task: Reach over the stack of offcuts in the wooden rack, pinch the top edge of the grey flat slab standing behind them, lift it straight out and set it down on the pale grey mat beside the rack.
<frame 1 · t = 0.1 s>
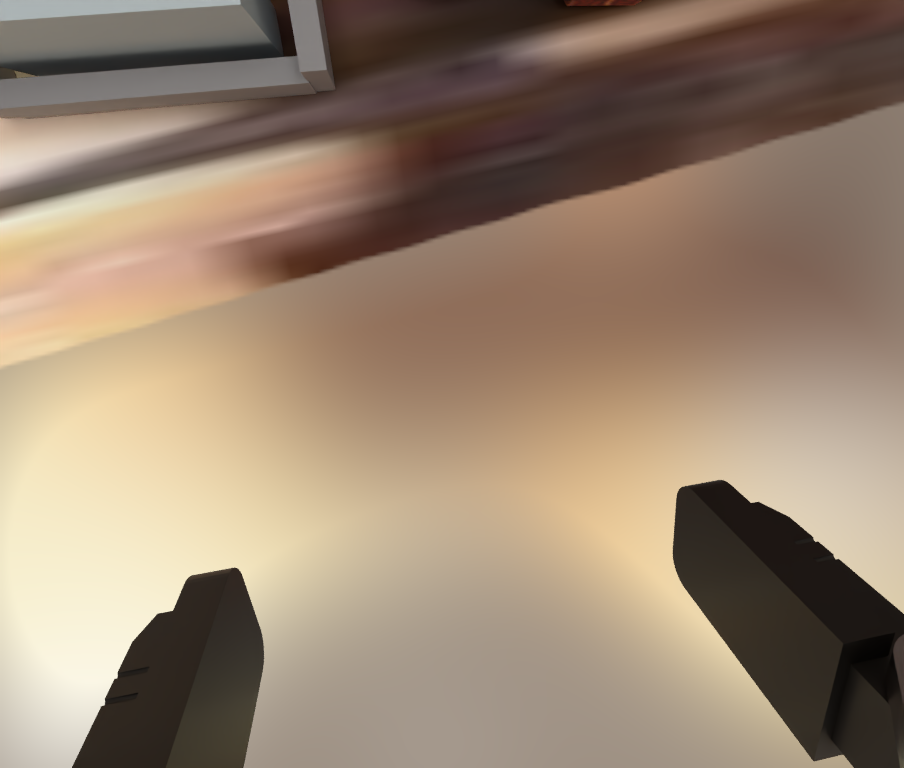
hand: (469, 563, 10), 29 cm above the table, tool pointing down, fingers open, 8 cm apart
grey flat slab: (160, 43, 30), on the table
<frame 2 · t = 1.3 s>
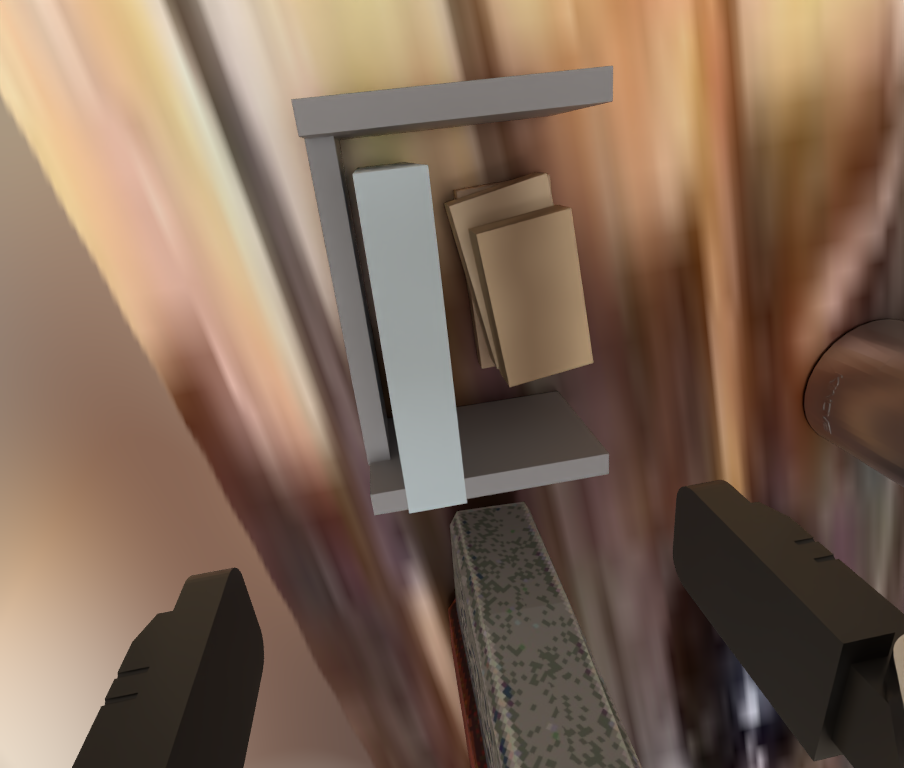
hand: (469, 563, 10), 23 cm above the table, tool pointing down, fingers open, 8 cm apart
offcut 2: (511, 270, 30), point 1 cm above the table, touching offcut 1, offcut 3
grey flat slab: (399, 288, 31), on the table
offcut 3: (527, 293, 28), point 3 cm above the table, touching offcut 2
offcut 1: (505, 270, 32), on the table, touching offcut 2
decorative stone tablet: (490, 645, 43), on the table
rack: (451, 281, 31), on the table
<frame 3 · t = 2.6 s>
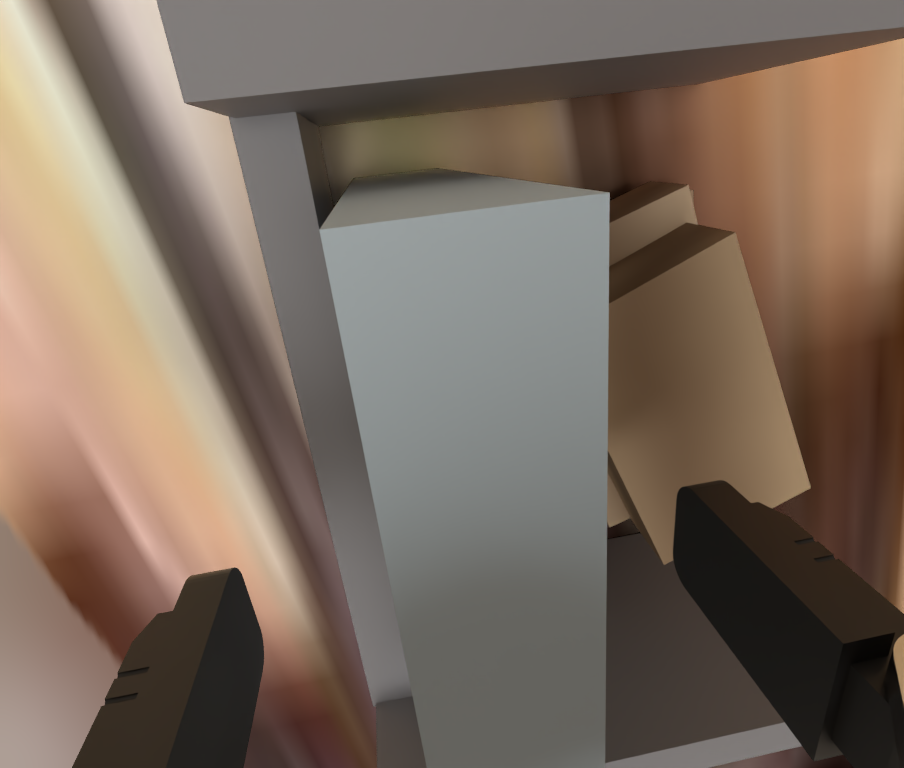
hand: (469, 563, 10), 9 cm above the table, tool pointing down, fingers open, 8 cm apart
offcut 2: (614, 354, 17), point 1 cm above the table, touching offcut 1, offcut 3
grey flat slab: (424, 382, 18), on the table
offcut 3: (656, 389, 16), point 3 cm above the table, touching offcut 2
rack: (513, 369, 18), on the table
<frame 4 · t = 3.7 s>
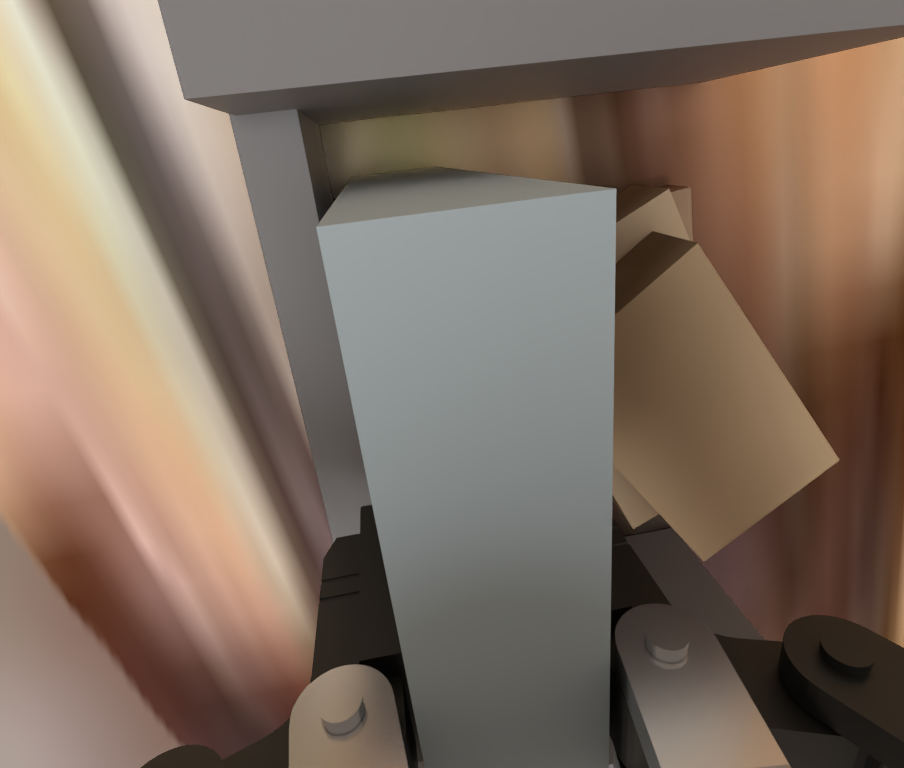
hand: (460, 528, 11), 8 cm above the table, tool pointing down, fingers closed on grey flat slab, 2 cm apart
offcut 2: (618, 357, 17), point 1 cm above the table, touching offcut 1
grey flat slab: (424, 382, 18), on the table, touching gripper
offcut 3: (661, 392, 15), point 3 cm above the table
offcut 1: (598, 347, 19), on the table, touching offcut 2
rack: (514, 369, 18), on the table
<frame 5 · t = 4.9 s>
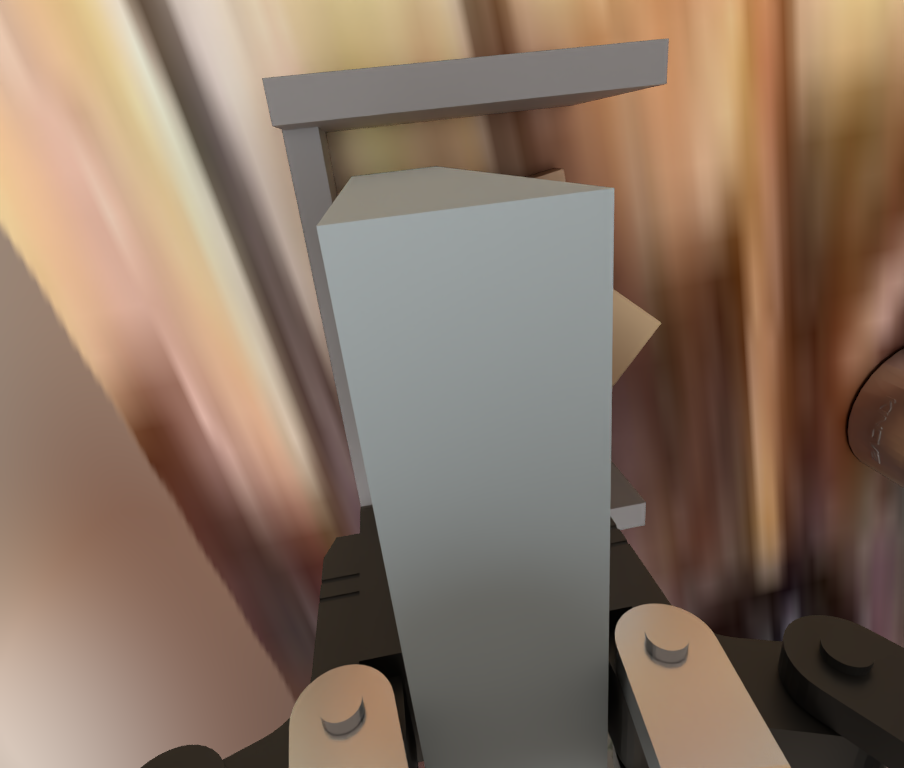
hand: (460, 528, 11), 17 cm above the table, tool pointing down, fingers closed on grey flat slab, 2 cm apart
grey flat slab: (423, 382, 18), point 9 cm above the table, touching gripper
offcut 3: (543, 309, 24), point 3 cm above the table, touching offcut 2
offcut 1: (522, 283, 28), on the table, touching offcut 2
rack: (457, 297, 27), on the table
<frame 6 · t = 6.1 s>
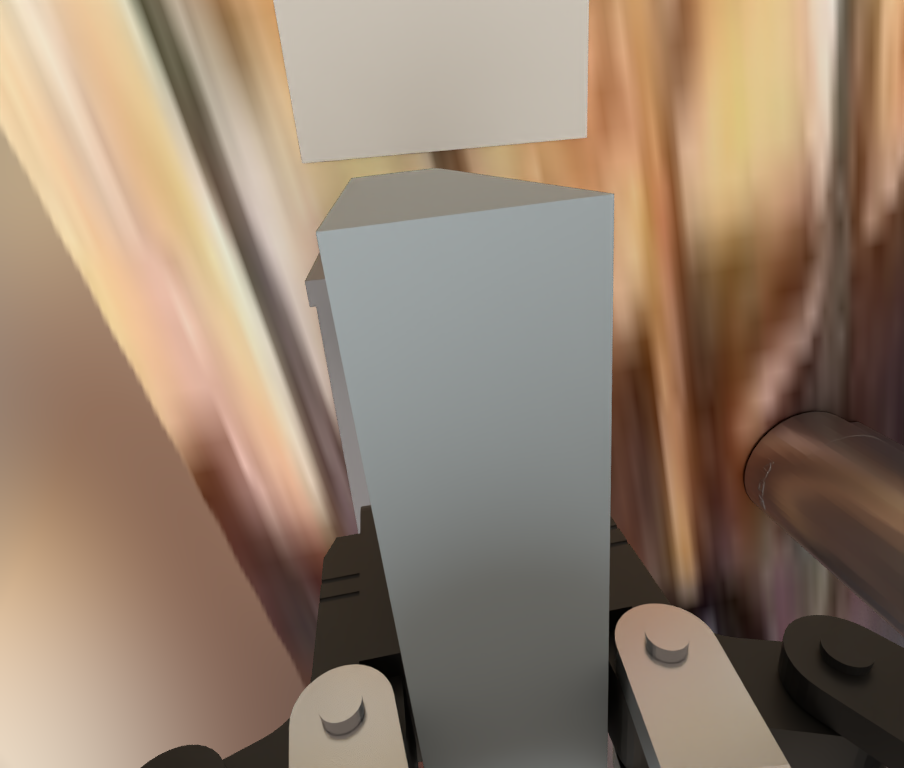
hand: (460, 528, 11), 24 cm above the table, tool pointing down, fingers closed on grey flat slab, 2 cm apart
grey flat slab: (423, 383, 18), point 17 cm above the table, touching gripper
mat: (435, 2, 28), on the table
rack: (435, 382, 36), on the table
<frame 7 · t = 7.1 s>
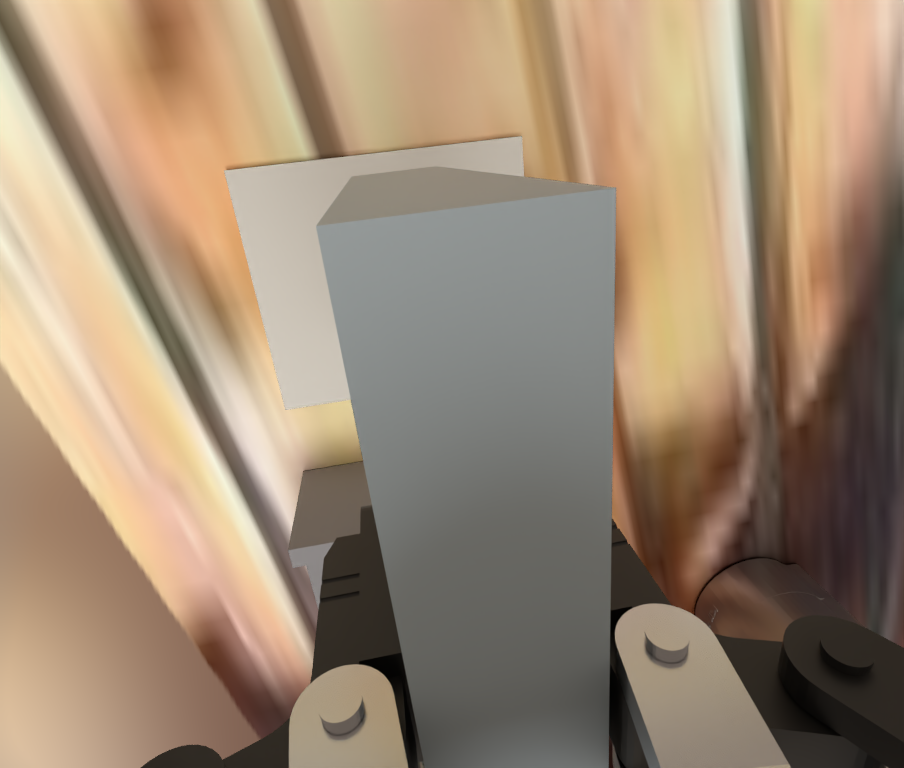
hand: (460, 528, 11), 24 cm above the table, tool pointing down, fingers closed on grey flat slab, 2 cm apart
grey flat slab: (423, 382, 18), point 16 cm above the table, touching gripper
mat: (395, 279, 32), on the table
rack: (410, 560, 40), on the table
when the fingers open (9 cm above the table, at t = 10.3 s): grey flat slab stays where it is, resting on mat.
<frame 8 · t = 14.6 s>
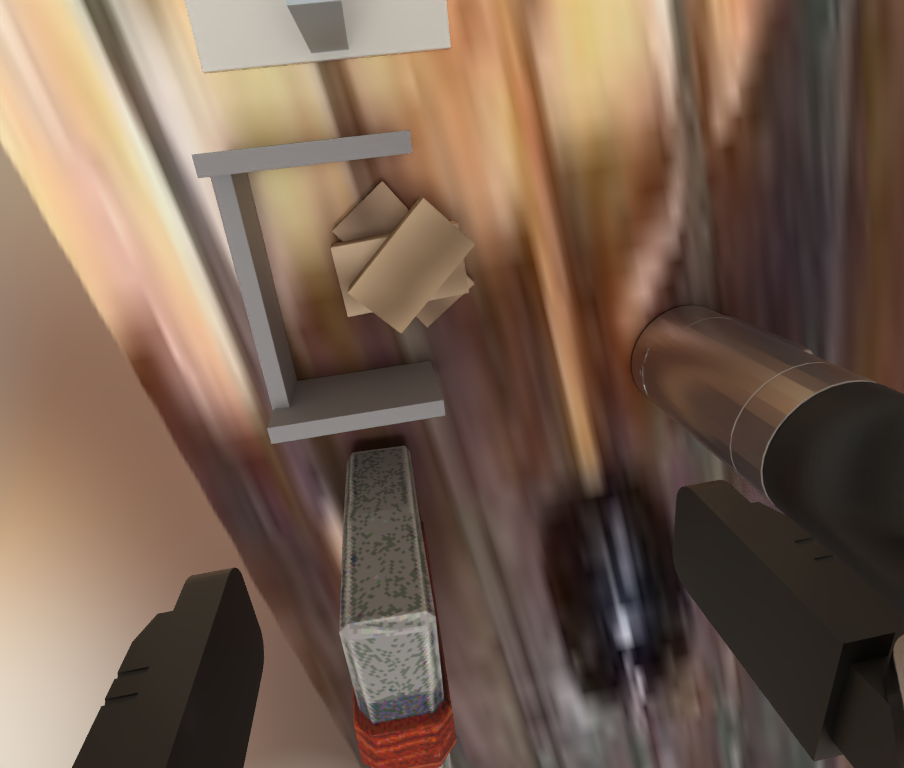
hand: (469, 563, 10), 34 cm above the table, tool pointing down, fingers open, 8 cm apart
offcut 2: (400, 265, 40), point 1 cm above the table, touching offcut 1, offcut 3
offcut 3: (409, 263, 38), point 3 cm above the table, touching offcut 2
offcut 1: (404, 253, 42), on the table, touching offcut 2
decorative stone tablet: (396, 569, 53), on the table
rack: (339, 275, 41), on the table
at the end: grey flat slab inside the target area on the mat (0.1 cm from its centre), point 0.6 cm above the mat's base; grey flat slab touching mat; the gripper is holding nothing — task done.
